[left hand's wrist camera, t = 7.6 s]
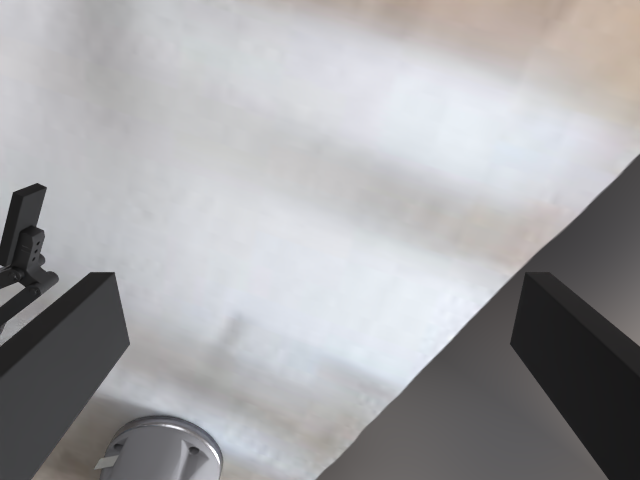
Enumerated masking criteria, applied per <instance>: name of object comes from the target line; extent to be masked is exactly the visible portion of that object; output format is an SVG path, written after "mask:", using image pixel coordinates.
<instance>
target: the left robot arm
mask: <svg viewBox="0 0 640 480" xmlns="http://www.w3.org/2000/svg"><path fill="white" fill-rule="evenodd" d="M129 345H130V342H129V337H128V333H127V328H126V323H125V319H124V314H123V309H122V305H121V300H120V296H119V291H118V286H117V282H116V277H115V272H90V273H89V274H88V275H87V276H85V277H84V278H83V279H82V280H81V281H79V282H78V283H77V284H76V285H75V286H73V287H72V288H71V289H70V290H68V291H67V292H66V293H65V294H64V295H62V296H61V297H60V298H59V299H58V300H56V301H55V302H54V303H53V304H51V305H50V306H49V307H48V308H47V309H45V310H44V311H43V312H42V313H41V314H39V315H38V316H37V317H36V318H34V319H33V320H32V321H31V322H30V323H28V324H27V325H26V326H25V327H24V328H22V329H21V330H20V331H19V332H17V333H16V334H15V335H14V336H13V337H11V338H10V339H9V340H8V341H7V342H5V343H4V344H3V345H2V346H0V480H31V479H32V478H33V476H34V475H35V474H36V472H37V471H38V470H39V468H40V467H41V465H42V464H43V463H44V461H45V460H46V459H47V457H48V456H49V454H50V453H51V452H52V450H53V449H54V448H55V446H56V445H57V443H58V442H59V441H60V439H61V438H62V437H63V435H64V434H65V432H66V431H67V430H68V428H69V427H70V426H71V424H72V423H73V422H74V420H75V419H76V417H77V416H78V415H79V413H80V412H81V411H82V409H83V408H84V406H85V405H86V404H87V402H88V401H89V400H90V398H91V397H92V395H93V394H94V393H95V391H96V390H97V389H98V387H99V386H100V384H101V383H102V382H103V380H104V379H105V378H106V376H107V375H108V373H109V372H110V371H111V369H112V368H113V367H114V365H115V364H116V363H117V361H118V360H119V358H120V357H121V356H122V354H123V353H124V352H125V350H126V349H127V347H128V346H129ZM510 345H511V346H512V347H513V349H514V350H515V352H516V353H517V354H518V356H519V357H520V358H521V360H522V361H523V362H524V364H525V365H526V367H527V368H528V369H529V371H530V372H531V373H532V375H533V376H534V378H535V379H536V380H537V382H538V383H539V384H540V386H541V387H542V389H543V390H544V391H545V393H546V394H547V395H548V397H549V398H550V400H551V401H552V402H553V404H554V405H555V406H556V408H557V409H558V411H559V412H560V413H561V415H562V416H563V417H564V419H565V420H566V421H567V423H568V424H569V426H570V427H571V428H572V430H573V431H574V432H575V434H576V435H577V436H578V438H579V439H580V441H581V442H582V443H583V445H584V446H585V448H586V449H587V450H588V452H589V453H590V454H591V456H592V457H593V459H594V460H595V461H596V463H597V464H598V465H599V467H600V468H601V469H602V471H603V472H604V474H605V475H606V476H607V478H608V479H609V480H640V346H638V345H637V344H636V343H635V342H633V341H632V340H631V339H630V338H629V337H627V336H626V335H625V334H624V333H623V332H621V331H620V330H619V329H618V328H616V327H615V326H614V325H613V324H612V323H610V322H609V321H608V320H607V319H606V318H604V317H603V316H602V315H601V314H599V313H598V312H597V311H596V310H595V309H593V308H592V307H591V306H590V305H589V304H587V303H586V302H585V301H584V300H582V299H581V298H580V297H579V296H578V295H576V294H575V293H574V292H573V291H572V290H570V289H569V288H568V287H567V286H565V285H564V284H563V283H562V282H561V281H559V280H558V279H557V278H556V277H555V276H553V275H552V274H551V273H549V272H526V273H525V277H524V282H523V286H522V291H521V296H520V300H519V305H518V309H517V314H516V319H515V323H514V328H513V333H512V337H511V342H510Z"/></svg>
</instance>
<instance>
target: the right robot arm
mask: <svg viewBox="0 0 640 480" xmlns="http://www.w3.org/2000/svg"><path fill="white" fill-rule="evenodd" d="M46 189H47V187H45V186H43V185H40V184H38V183H36V184H34V185H31V186H28V187H26V188H23V189H21V190H18V191H15V192H13V195H12V199H11V203H10V207H9V211H8V215H7V219H6V223H5V228H4V232H3V236H2V240H1V244H0V265H1V266H4V267H2V268H0V289H1V288H4V287H6V286H9V285H11V284H14V283H16V282H19V283H21V284H22V285H24V286H25V287H26V288H24V289H23V290H22V291H21V292H19V293H18V294H17V295H15V296H14V297H13V298H12V299H10V300H9V301H8V302H6V303H5V304H4V305H3V306H1V307H0V334H1V333H2V331H3V328H4V326H5V324H6V322H7V321H8V320H9V319H11V318H12V317H13V316H15V315H16V314H17V313H19V312H20V311H21V310H22V309H24V308H25V307H26V306H28V305H29V304H30V303H32V302H33V301H34V300H36V299H37V298H38V297H39V296H41V295H42V294H43V293H44V292H46V291H47V290H48V289H49V288H51V287H52V286H53V285H55V284H56V283H57V282H58V280H59V278H58V275H57V274H56V273H54V272H51V271H49V272H46V271H45V270H43V269H42V268H41V267H40V266H41V265H43V264H44V263H45V258H44V256H43V255H41V254H40V252H41V248H42V245H43V241H44V238H45V235H44V230H41V229H39V228H37V227H36V225H37V222H38V218H39V214H40V211H41V207H42V203H43V200H44V196H45V192H46ZM222 466H223V458H222V453H221V450H220V448H219V446H218V445H217V443H216V442H215V440H214V439H213V438H212V437H211V436H210V435H209V434H208V433H207V432H205V431H204V430H203V429H201V428H200V427H198V426H196V425H194V424H192V423H190V422H188V421H185V420H182V419H178V418H174V417H168V416H150V417H144V418H139V419H136V420H134V421H131V422H129V423H128V424H126V425H124V426H123V427H122V428H121V429H120V430H118V432H117V433H116V434H115V436H114V437H113V439H112V441H111V442H110V444H109V446H108V448H107V450H106V453H105V456H104V458H101V459H99V461H98V463H97V465H96V466H95V468H94V470H95V469H100V468H102V470H101V475H100V480H219V479H220V475H221V471H222Z"/></svg>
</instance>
